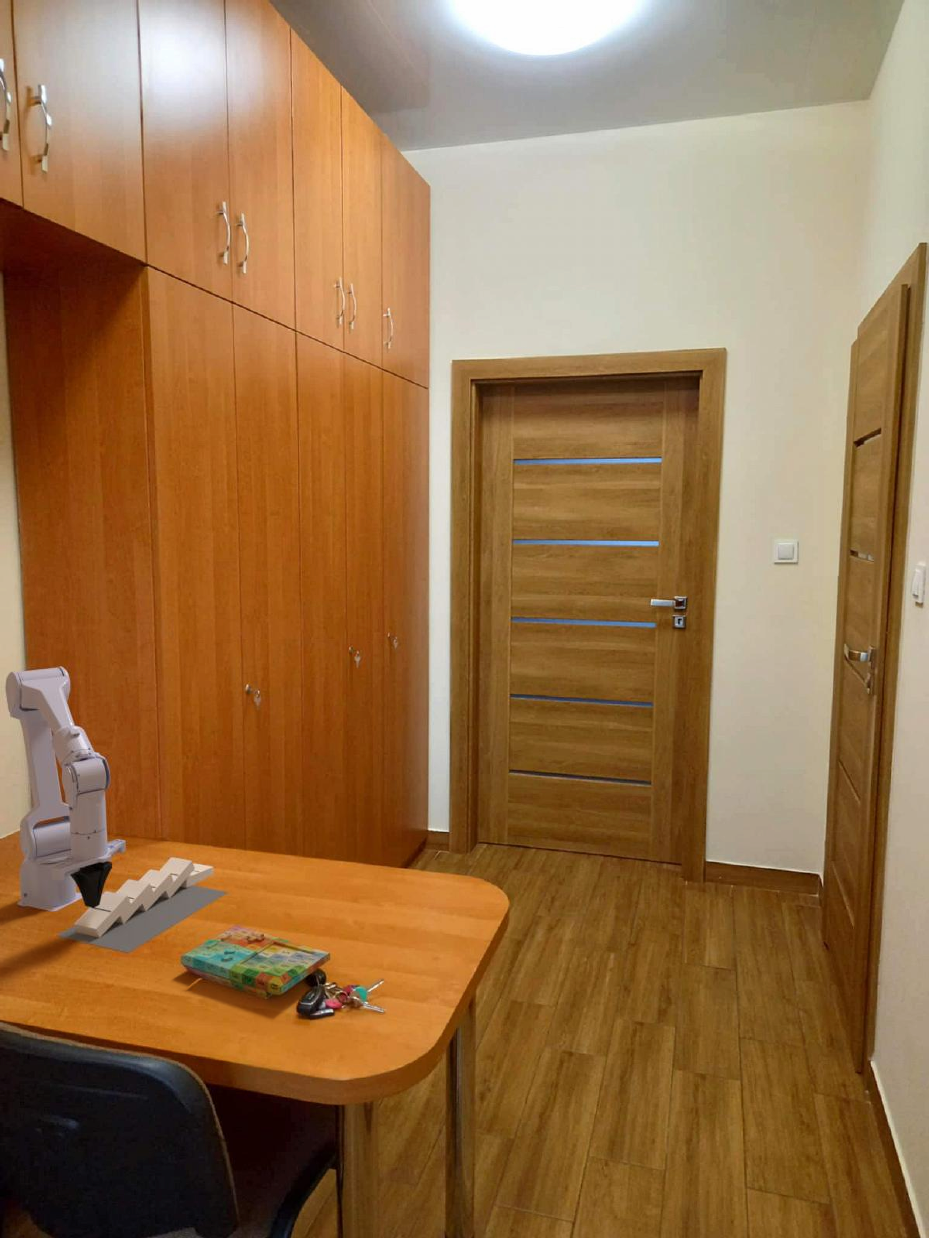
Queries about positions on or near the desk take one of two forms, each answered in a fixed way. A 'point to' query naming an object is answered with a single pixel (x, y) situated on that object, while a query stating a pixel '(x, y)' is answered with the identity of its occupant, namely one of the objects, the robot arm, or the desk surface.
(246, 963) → the puzzle game
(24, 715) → the robot arm
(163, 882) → the domino
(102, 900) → the domino
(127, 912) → the domino
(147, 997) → the desk surface
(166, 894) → the domino
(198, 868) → the domino
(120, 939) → the mat
